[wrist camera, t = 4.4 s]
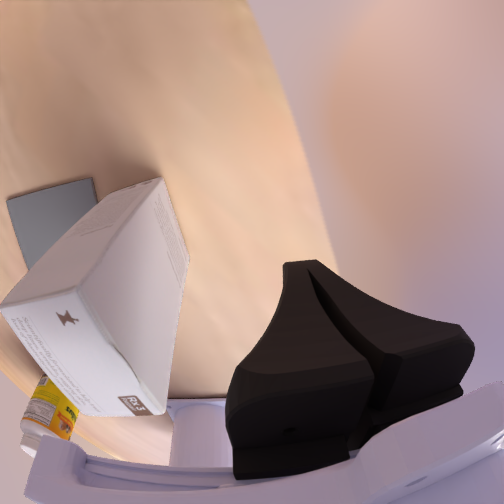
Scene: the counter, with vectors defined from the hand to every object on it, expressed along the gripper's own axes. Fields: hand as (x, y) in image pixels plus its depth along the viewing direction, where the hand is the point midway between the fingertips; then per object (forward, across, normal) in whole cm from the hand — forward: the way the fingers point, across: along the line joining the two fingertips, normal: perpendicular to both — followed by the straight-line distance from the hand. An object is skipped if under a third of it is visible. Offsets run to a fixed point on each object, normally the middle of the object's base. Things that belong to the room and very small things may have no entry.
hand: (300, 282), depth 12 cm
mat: (+8, +16, 0) cm, 18 cm away
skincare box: (+8, +8, 0) cm, 11 cm away
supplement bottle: (+8, +24, +17) cm, 31 cm away
